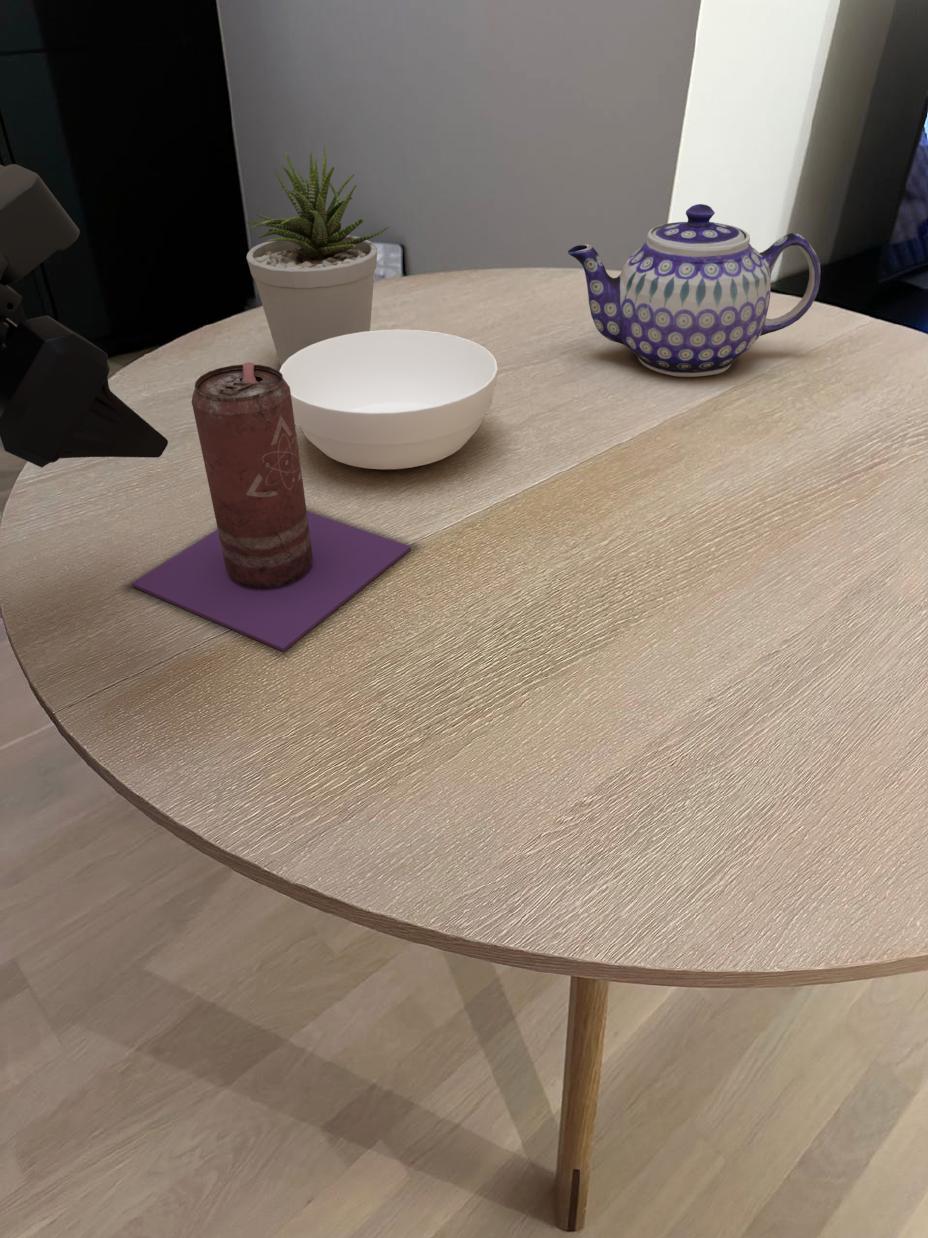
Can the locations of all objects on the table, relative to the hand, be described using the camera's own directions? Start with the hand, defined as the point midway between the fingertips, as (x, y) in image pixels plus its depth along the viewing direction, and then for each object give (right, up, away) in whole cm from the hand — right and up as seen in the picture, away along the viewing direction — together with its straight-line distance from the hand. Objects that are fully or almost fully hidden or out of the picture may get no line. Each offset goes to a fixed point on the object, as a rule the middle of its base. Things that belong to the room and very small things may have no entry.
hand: (129, 422), depth 55 cm
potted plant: (+6, +15, +43) cm, 46 cm away
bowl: (+13, +3, +27) cm, 31 cm away
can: (+6, -8, +12) cm, 15 cm away
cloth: (+6, -8, +12) cm, 16 cm away
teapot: (+42, +15, +42) cm, 62 cm away
